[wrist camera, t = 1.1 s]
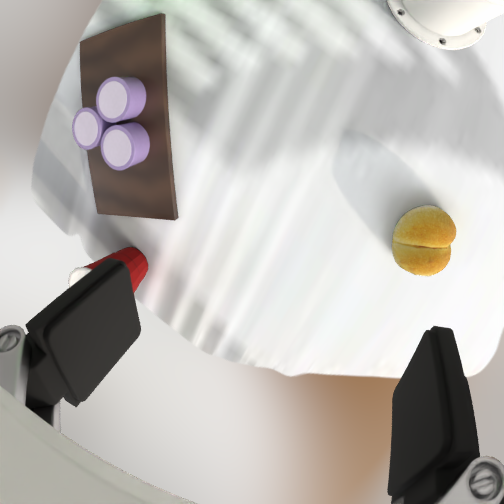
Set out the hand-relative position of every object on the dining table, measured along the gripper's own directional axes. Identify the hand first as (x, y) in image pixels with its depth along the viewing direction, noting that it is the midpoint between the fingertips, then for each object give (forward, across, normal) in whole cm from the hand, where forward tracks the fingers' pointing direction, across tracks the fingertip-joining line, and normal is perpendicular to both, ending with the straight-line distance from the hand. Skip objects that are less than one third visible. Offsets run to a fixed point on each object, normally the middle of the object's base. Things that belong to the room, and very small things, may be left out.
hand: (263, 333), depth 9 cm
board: (+31, +30, -3) cm, 43 cm away
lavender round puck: (+30, +28, 0) cm, 40 cm away
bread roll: (+31, -13, +8) cm, 34 cm away
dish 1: (+30, +28, -7) cm, 41 cm away
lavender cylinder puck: (+30, +34, -3) cm, 45 cm away
